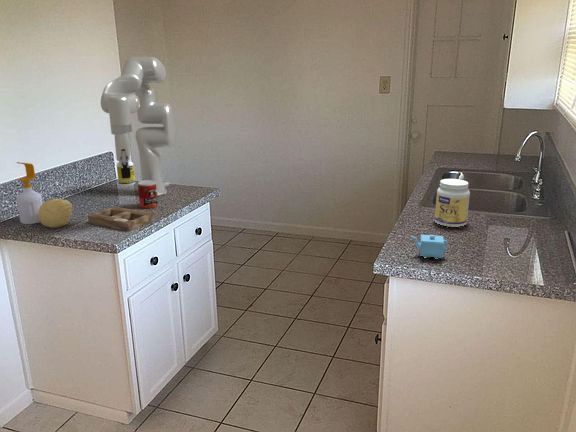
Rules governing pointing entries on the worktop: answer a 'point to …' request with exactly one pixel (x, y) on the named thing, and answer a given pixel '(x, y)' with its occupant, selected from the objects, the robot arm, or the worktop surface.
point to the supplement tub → (452, 203)
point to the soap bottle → (29, 198)
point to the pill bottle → (126, 180)
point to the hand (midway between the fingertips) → (126, 175)
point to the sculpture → (55, 213)
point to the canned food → (147, 194)
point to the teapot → (431, 246)
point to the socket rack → (121, 218)
